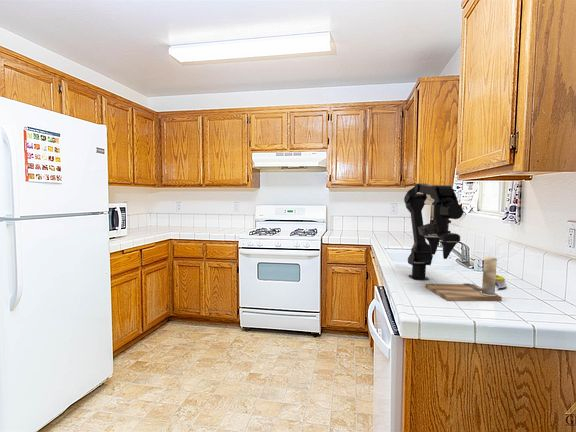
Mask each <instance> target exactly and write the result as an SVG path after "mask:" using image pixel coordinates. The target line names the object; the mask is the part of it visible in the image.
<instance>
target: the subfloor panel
mask: <svg viewBox="0 0 576 432" xmlns="http://www.w3.org/2000/svg"><path fill="white" fill-rule="evenodd" d="M424 285H425V287H426V288H425V287H424V288H425V289H427V290H429V291H431V292H432V293H434V294H435V295H436V296H439V297H440V298H442V299H444V300H445V301H447V302H502V301H503V299H502V298H503V297H502V296H501V295H499V294H497V293H496V292H495V295H486V294H483V293H482V286H478V285H476V284H474V283H425V284H424Z"/></svg>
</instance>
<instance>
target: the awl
mask: <svg viewBox="0 0 576 432" xmlns="http://www.w3.org/2000/svg"><path fill="white" fill-rule="evenodd" d="M497 261H498V259H497V258H496V257H490V256H484V257H483V266H482V267H483V270H482V286H481V288H482V293H483V294H486V295H495V293H496V284H495V280H496V275H497V264H498V263H497Z"/></svg>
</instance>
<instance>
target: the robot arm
mask: <svg viewBox="0 0 576 432" xmlns="http://www.w3.org/2000/svg"><path fill="white" fill-rule="evenodd" d="M427 195H428V196H430V198H431V199H432V200H433V202H431V205H432V206H433V210H432V211H433V214H432V215H433V216H432V218H431V219H430V220H429V223H426V224H424V218H423V212H422V211H423V209H424V207H425V203H426V200H427V199H428V196H427ZM403 201H404V204H405V208H406V209H407V211H408V212H409V213H410V220H411V227H412V235H413V236H412V237H413V245H412V247H411V248H410V249H411V250H410V254H409V256H408V258H407V264H408V265H411V267H412V268H411V274H408V277H409V278H411V279H413V280H427V281H428V280H429V278H428V277H427V276H426V272H427V266H431V265H432V262H433V257H434V255H436V252H437V249H438V247H439V243H440V244H441V245H442V258H443V259H444V260H447V259H448V257H449V256H450V254H451V252H453V251H452V250H453V249H454V248H455V247H456V245H457V244H459V242H461V236H460V234H458V233H456V232H455V233H454V232H452V231H451V230H449V226H450V224H451V223H452V220H458V219H460V218H461V217H462V216H463V214H464V208H463V206H461V205H462V204H459V200H458V197H457V195H456V192H455V190H454V188H453V186H452V185H447V184H446V185H445V184H444V185H441V184H439V185H437V184H435V185H433V184H428V183H424V182H423V183H419V182H417V183H415V184H414V186H413V187H412V188H410V189H409V190H408V191H407V192H406V193H405V196H404V198H403ZM450 219H452V220H450ZM426 241H427V242H428V243H427V242H426Z"/></svg>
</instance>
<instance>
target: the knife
mask: <svg viewBox="0 0 576 432" xmlns="http://www.w3.org/2000/svg"><path fill="white" fill-rule="evenodd" d="M505 280H506V278H505V277H503V276H501V275H499V274H496V280H495V289H502V288H506V287H507V283H505Z"/></svg>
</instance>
